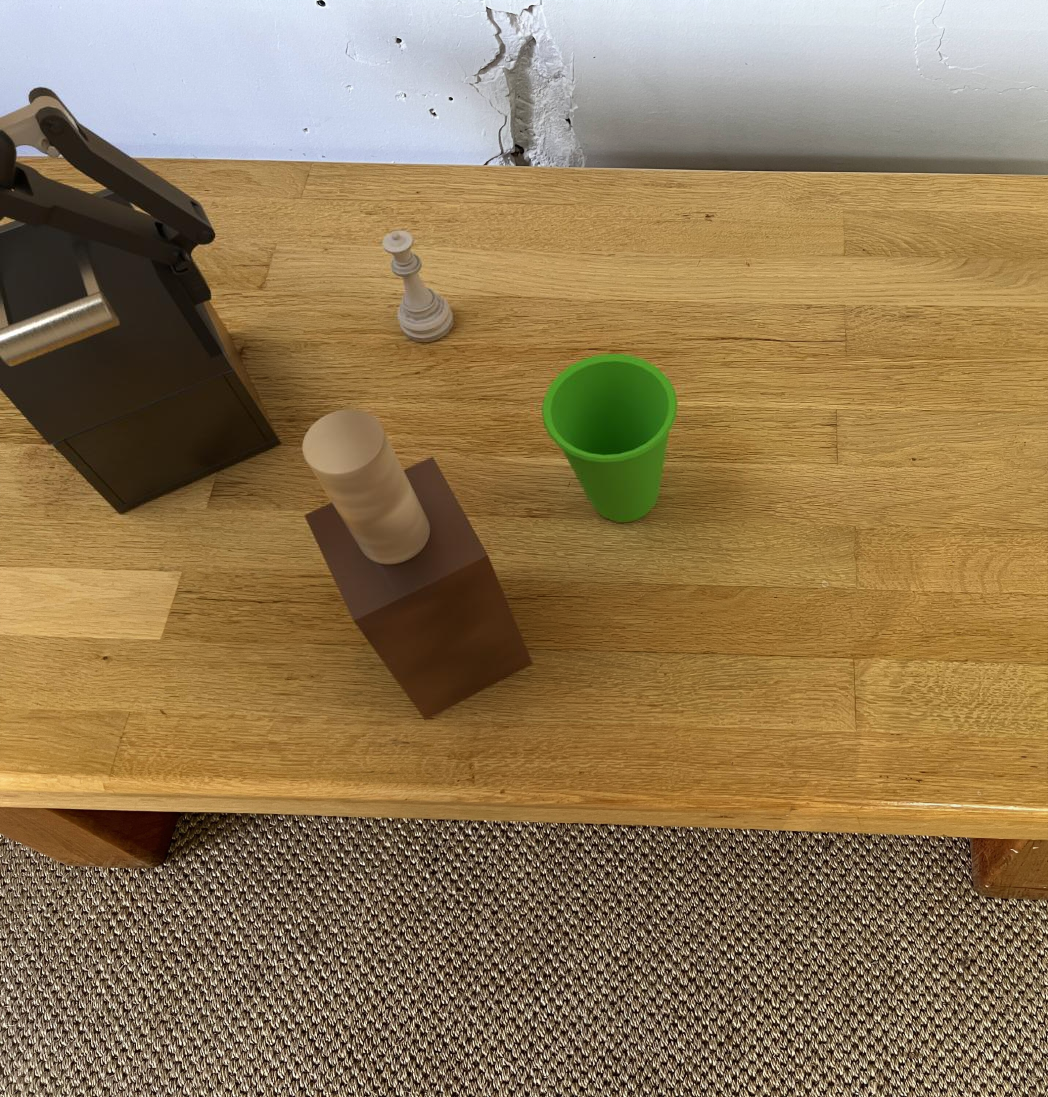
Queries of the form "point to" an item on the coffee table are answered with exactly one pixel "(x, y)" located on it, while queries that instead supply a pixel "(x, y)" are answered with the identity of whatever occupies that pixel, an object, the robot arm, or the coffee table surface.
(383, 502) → the tan wooden cylinder
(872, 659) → the coffee table surface
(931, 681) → the coffee table surface
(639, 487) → the cup
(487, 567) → the dark brown rectangular block
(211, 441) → the dark boxy piece
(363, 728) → the coffee table surface
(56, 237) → the handled dark lid
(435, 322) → the chess piece
